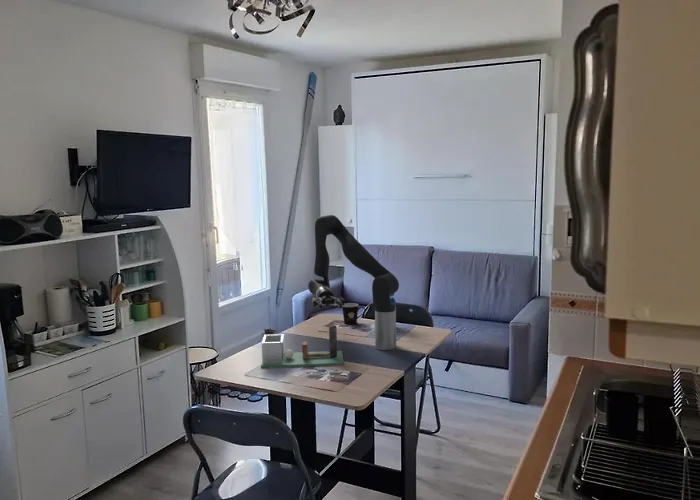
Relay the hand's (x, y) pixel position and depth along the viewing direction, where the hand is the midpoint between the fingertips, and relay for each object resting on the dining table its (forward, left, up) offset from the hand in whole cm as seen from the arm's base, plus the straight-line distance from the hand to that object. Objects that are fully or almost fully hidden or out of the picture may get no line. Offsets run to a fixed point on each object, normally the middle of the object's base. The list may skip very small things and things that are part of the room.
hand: (331, 306), depth 255 cm
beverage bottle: (-29, -36, -21) cm, 51 cm away
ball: (+19, +10, -18) cm, 28 cm away
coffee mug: (-12, -46, -21) cm, 52 cm away
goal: (+25, +10, -20) cm, 33 cm away
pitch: (+13, +10, -21) cm, 26 cm away
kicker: (+5, +10, -19) cm, 22 cm away
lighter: (+28, -6, -21) cm, 35 cm away
